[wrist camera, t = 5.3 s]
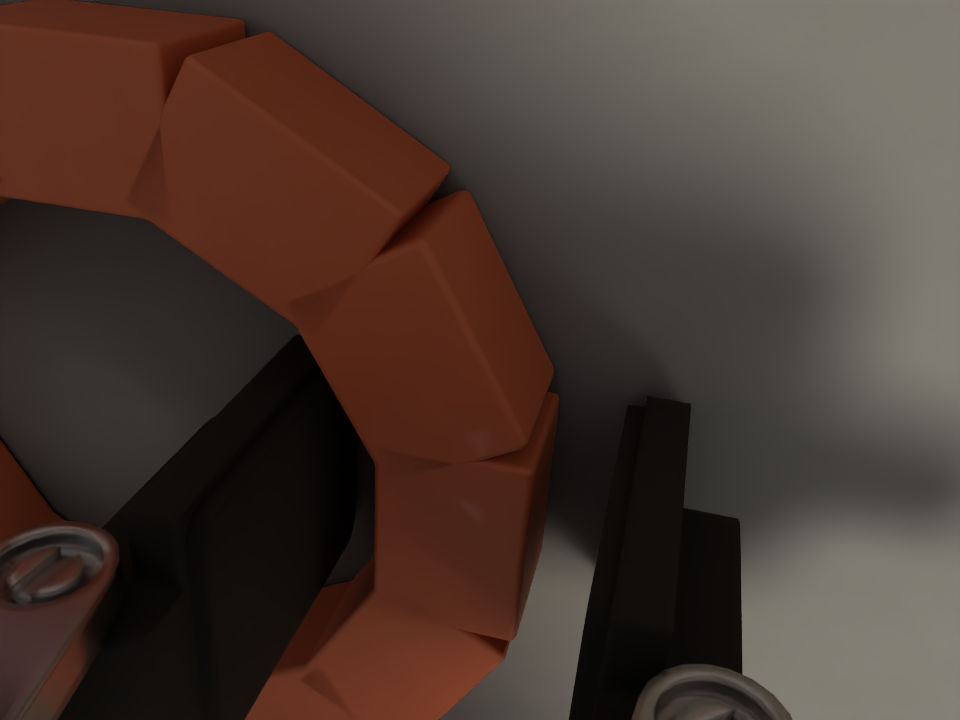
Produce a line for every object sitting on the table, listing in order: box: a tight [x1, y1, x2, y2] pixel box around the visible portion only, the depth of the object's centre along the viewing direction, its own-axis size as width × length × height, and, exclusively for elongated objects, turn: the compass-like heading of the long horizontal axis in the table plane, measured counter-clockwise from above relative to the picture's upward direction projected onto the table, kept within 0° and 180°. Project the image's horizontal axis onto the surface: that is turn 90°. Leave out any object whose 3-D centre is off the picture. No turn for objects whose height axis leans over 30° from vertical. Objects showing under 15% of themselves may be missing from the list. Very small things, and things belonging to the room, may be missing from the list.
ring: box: [0, 0, 560, 720], centre depth 12 cm, size 10×10×2 cm
